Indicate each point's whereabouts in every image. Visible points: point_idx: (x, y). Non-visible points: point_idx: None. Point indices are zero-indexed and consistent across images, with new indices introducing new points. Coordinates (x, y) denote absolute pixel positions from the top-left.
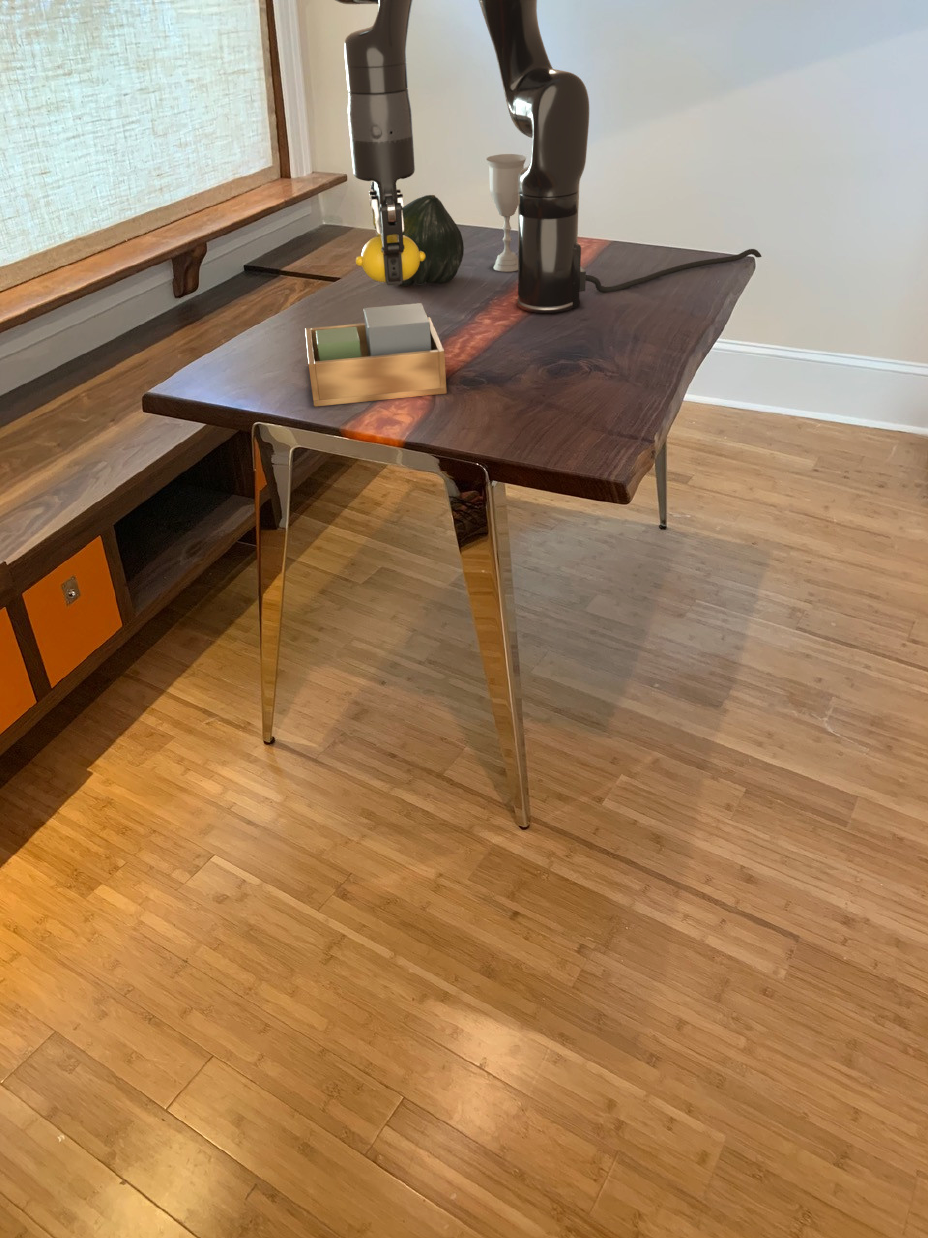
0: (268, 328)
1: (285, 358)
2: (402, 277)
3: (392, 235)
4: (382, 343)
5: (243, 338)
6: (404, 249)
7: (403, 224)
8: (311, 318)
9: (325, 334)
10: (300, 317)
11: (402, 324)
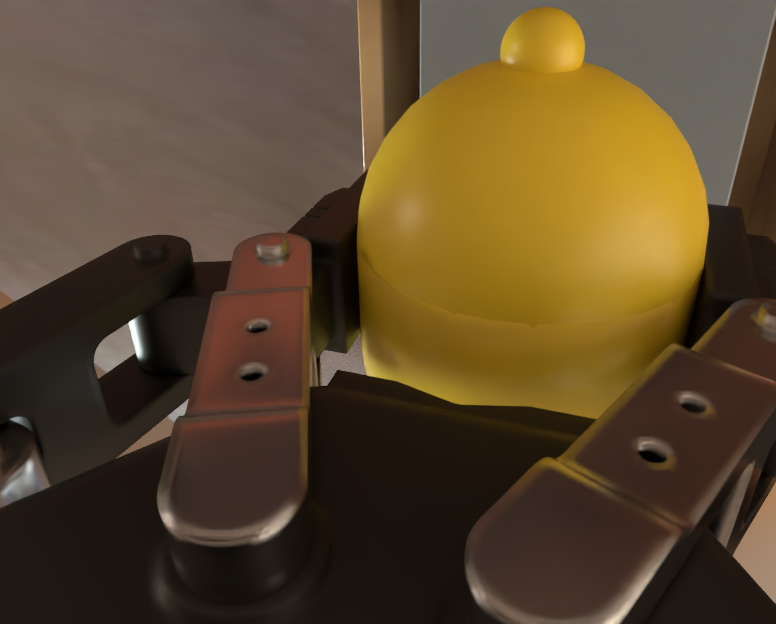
0: (110, 359)
1: (321, 366)
2: (741, 219)
3: (484, 351)
4: None
5: (174, 420)
6: (676, 259)
7: (767, 416)
8: (37, 249)
9: None
10: (32, 274)
11: (741, 143)
